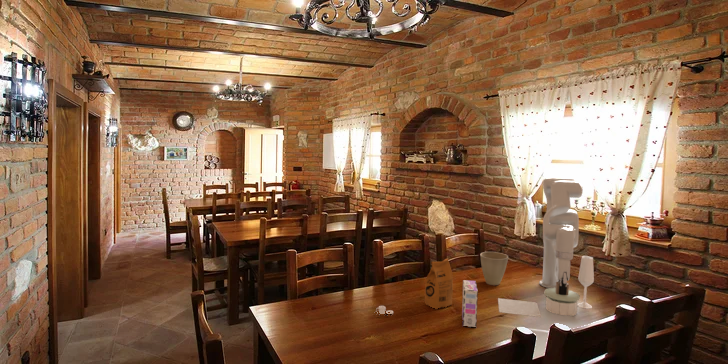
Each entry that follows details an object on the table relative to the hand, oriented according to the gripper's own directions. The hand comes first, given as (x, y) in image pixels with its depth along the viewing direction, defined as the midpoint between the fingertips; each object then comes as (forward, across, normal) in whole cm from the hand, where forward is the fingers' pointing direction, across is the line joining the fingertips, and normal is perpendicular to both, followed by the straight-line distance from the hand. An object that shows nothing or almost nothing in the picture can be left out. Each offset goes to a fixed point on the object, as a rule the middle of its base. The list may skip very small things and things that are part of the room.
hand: (561, 292), depth 198 cm
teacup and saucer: (+9, +32, -77) cm, 83 cm away
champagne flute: (+9, -10, +12) cm, 18 cm away
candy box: (+9, +25, -41) cm, 49 cm away
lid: (+1, 0, 0) cm, 1 cm away
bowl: (+9, 0, 0) cm, 9 cm away
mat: (+9, +3, -19) cm, 21 cm away
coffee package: (+9, +10, -56) cm, 58 cm away
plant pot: (+9, -31, -30) cm, 44 cm away
